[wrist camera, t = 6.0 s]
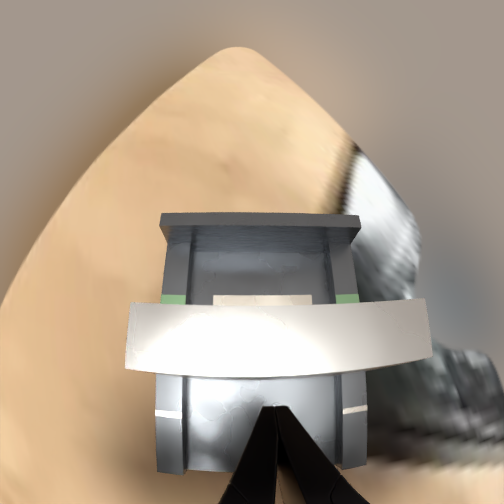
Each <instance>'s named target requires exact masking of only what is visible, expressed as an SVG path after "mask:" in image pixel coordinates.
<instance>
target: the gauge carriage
mask: <svg viewBox="0 0 504 504" xmlns="http://www.w3.org/2000/svg"><path fill="white" fill-rule="evenodd" d="M430 357H433V354H432V344H431V336H430V329H429V322H428V316H427V309H426V303H425V299H424V298H422V299H409V300H396V301H382V302H365V303H346V304H322V305H312V295H213V305H179V304H155V303H135V302H131V304H130V312H129V322H128V332H127V344H126V358H125V369H130V370H135V371H141V372H147V373H153V374H160V375H167V376H175V377H183V378H191V379H205V380H285V379H303V378H317V377H328V376H335V375H343V374H350V373H356V372H363V371H368V370H374V369H380V368H385V367H390V366H395V365H400V364H404V363H409V362H413V361H417V360H422V359H426V358H430Z"/></svg>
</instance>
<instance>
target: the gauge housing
mask: <svg viewBox="0 0 504 504" xmlns="http://www.w3.org/2000/svg"><path fill="white" fill-rule="evenodd" d="M159 226H160V228H161V230H162V232H163V234H164V237H165V239H166V241H167V243H168V244H167V252H166V260H165V268H164V276H163V286H162V294H161V303H160V304H179V305H213V295H312V305H322V304H346V303H359V295H358V291H357V284H356V277H355V270H354V264H353V258H352V252H351V246H350V244H351V242H352V241H353V239H354V238H355V236H356V235H357V233H358V232H359V230H360V229H361V223H360V219H359V215H336V214H306V213H247V212H210V213H162V214H161V219H160V225H159ZM277 405H287V406H288V407H289V408H290V410H291V411H292V412H293V414H294V415H295V416H296V418H297V419H298V420H299V422H300V423H301V424H302V426H303V427H304V428H305V430H306V431H307V432H308V433H309V435H310V436H311V437H312V439H313V440H314V441H315V442H316V444H317V445H318V446H319V448H320V449H321V450H322V451H323V453H324V454H325V455H326V456H327V458H328V459H329V460H330V461H331V462H332V464H333V465H337V466H338V467H339V468H341V469H342V470H344V469H349V468H354V467H359V466H363V465H366V460H367V396H366V374H365V371H363V372H356V373H350V374H343V375H335V376H328V377H317V378H303V379H285V380H205V379H191V378H183V377H175V376H167V375H160V374H156V410H155V415H156V457H157V472H162V473H169V474H176V475H184V474H185V472H186V471H187V469H189V470H200V471H215V472H234V471H235V469H236V467H237V464H238V462H239V460H240V458H241V455H242V453H243V451H244V448H245V446H246V444H247V441H248V439H249V437H250V434H251V432H252V430H253V427H254V425H255V422H256V420H257V417H258V415H259V412H260V410H261V408H262V406H274V407H275V406H277Z"/></svg>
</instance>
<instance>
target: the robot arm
mask: <svg viewBox="0 0 504 504" xmlns="http://www.w3.org/2000/svg"><path fill="white" fill-rule="evenodd" d="M277 474H278V479H279V484H280V489H281V493H282V498H283V503H284V504H370V503H369V502H367V501H366V500H365V499H364V498H363V497H362V496H361V495H360V494H359V493H358V492H357V491H356V490H355V489H354V488H353V487H352V486H351V485H350V484H349V483H348V482H347V480H346V479H345V478H344V477H343V476H342V475H340V472H339V471H338V470H337V469H336V467H335V466H334V465H333V464H332V462H331V461H330V460H329V459H328V458H327V456H326V455H325V454H324V453H323V451H322V450H321V449H320V448H319V446H318V445H317V444H316V442H315V441H314V440H313V439H312V437H311V436H310V435H309V433H308V432H307V431H306V430H305V428H304V427H303V426H302V424H301V423H300V422H299V420H298V419H297V418H296V416H295V415H294V414H293V412H292V411H291V410H290V408H289V407H288V406H287V405H277V406H275V407H274V406H262V408H261V410H260V412H259V415H258V417H257V420H256V422H255V425H254V427H253V430H252V432H251V434H250V437H249V439H248V441H247V444H246V446H245V448H244V451H243V453H242V455H241V458H240V460H239V462H238V464H237V467H236V469H235V471H234V473H233V475H232V478H231V480H230V482H229V483H230V484H228V486H227V488H226V490H225V492H224V494H223V496H222V498H221V500H220V502H219V503H218V504H275V492H276V478H277Z"/></svg>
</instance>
